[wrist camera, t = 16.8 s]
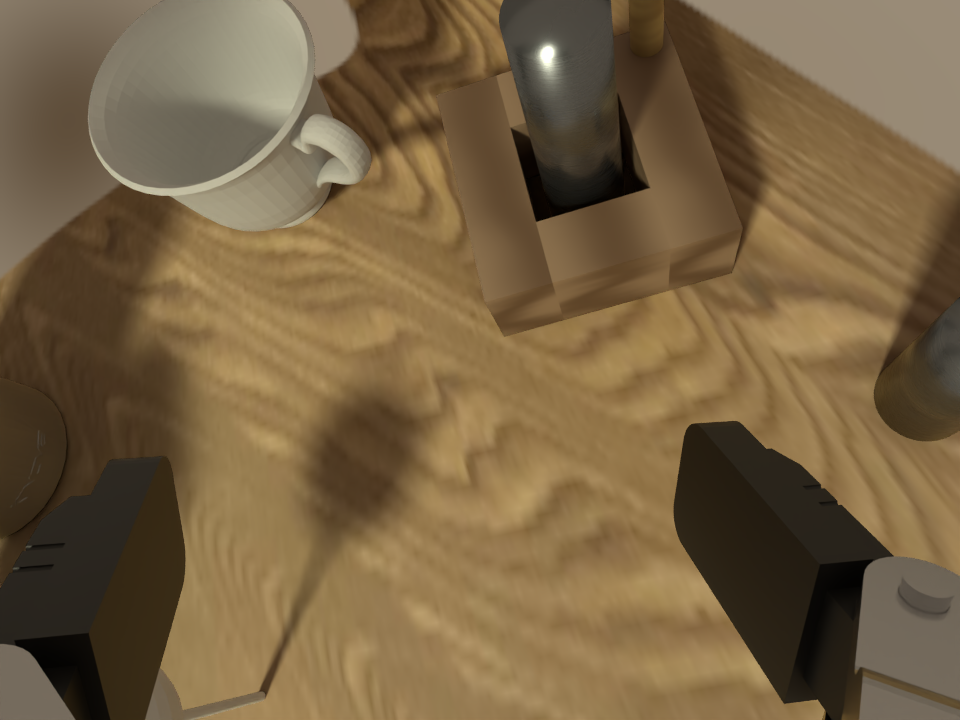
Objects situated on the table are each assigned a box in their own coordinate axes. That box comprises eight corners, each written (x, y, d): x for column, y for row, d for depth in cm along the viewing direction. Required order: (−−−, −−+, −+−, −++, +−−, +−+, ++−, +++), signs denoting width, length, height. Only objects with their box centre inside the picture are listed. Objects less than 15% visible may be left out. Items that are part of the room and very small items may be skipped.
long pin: (544, 237, 41) (488, 56, 27) (558, 171, 42) (511, -36, 28) (618, 245, 40) (600, 61, 26) (630, 177, 41) (619, -36, 27)
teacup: (363, 326, 42) (280, 249, 33) (163, 238, 47) (40, 149, 37) (460, 145, 44) (408, 23, 35) (259, 79, 49) (166, -44, 39)
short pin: (870, 433, 35) (940, 381, 26) (877, 350, 36) (947, 276, 27) (968, 448, 34) (1073, 400, 25) (972, 363, 35) (1075, 289, 26)
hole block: (504, 336, 40) (425, 196, 26) (458, 148, 44) (369, -61, 30) (731, 272, 38) (778, 87, 24) (663, 83, 42) (669, -170, 28)
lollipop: (327, 638, 37) (132, 664, 23) (311, 771, 36) (91, 885, 22) (214, 627, 39) (-34, 646, 25) (194, 754, 37) (-84, 851, 23)
